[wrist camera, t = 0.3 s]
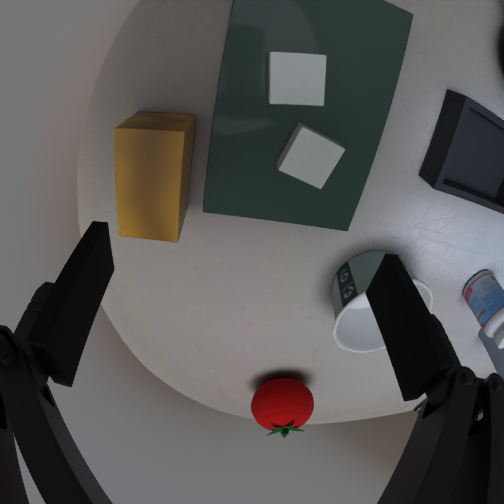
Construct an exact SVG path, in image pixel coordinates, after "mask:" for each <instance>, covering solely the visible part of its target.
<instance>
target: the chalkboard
mask: <svg viewBox="0 0 504 504" xmlns="http://www.w3.org/2000/svg"><path fill="white" fill-rule="evenodd" d="M412 18H413V14H411V13H409V12H407V11H405V10H403V9H401V8H399V7H397V6H395V5H392V4H390V3H388V2H386V1H383V0H234V2H233V7H232V12H231V17H230V22H229V27H228V33H227V38H226V44H225V49H224V55H223V61H222V67H221V73H220V79H219V85H218V92H217V98H216V105H215V112H214V119H213V126H212V134H211V141H210V149H209V157H208V166H207V174H206V183H205V192H204V202H203V212H207V213H216V214H225V215H233V216H241V217H249V218H257V219H265V220H272V221H280V222H287V223H294V224H301V225H309V226H316V227H322V228H329V229H336V230H342V231H348V228H349V226H350V223H351V221H352V218H353V215H354V213H355V210H356V208H357V205H358V202H359V200H360V197H361V194H362V191H363V189H364V186H365V183H366V180H367V177H368V175H369V172H370V169H371V166H372V163H373V160H374V157H375V154H376V151H377V148H378V145H379V142H380V139H381V136H382V133H383V129H384V126H385V123H386V120H387V116H388V113H389V110H390V106H391V103H392V99H393V96H394V92H395V89H396V85H397V81H398V77H399V74H400V70H401V66H402V62H403V58H404V54H405V50H406V45H407V41H408V36H409V32H410V27H411V23H412ZM268 52H292V53H306V54H318V55H326V75H325V93H324V106H313V105H293V104H270V103H269V102H268ZM298 122H300V123H302V124H304V125H306V126H308V127H310V128H312V129H314V130H316V131H318V132H320V133H321V134H323V135H325V136H327V137H329V138H331V139H333V140H335V141H336V142H338V143H340V144H341V145H342V146H343V147H344V148H345V151H344V153H343V154H342V156H341V158H340V159H339V161H338V162H337V164H336V166H335V167H334V169H333V171H332V172H331V174H330V175H329V177H328V179H327V180H326V182H325V184H324V185H323V187H322V188H321V189H319V188H317V187H315V186H313V185H311V184H309V183H306V182H304V181H302V180H300V179H298V178H295V177H293V176H291V175H289V174H286V173H284V172H282V171H279V170H278V167H277V161H278V159H279V157H280V155H281V153H282V152H283V150H284V148H285V146H286V144H287V142H288V140H289V139H290V137H291V135H292V133H293V131H294V129H295V128H296V126H297V124H298Z"/></svg>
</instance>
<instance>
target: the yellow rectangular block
mask: <svg viewBox="0 0 504 504" xmlns="http://www.w3.org/2000/svg"><path fill="white" fill-rule="evenodd" d="M195 121H196V115H189V114H176V113H160V112H137V113H136V114H134V115H133V116H131V117H130V118H129V119H127V120H126V121H124V122H123V123H121V124H120V125H119V126H117V127H116V128H115V177H116V197H117V212H118V224H119V235H120V236H125V237H134V238H143V239H152V240H161V241H170V242H178V241H179V237H180V233H181V230H182V226H183V222H184V219H185V215H186V212H187V208H188V194H189V181H190V170H191V159H192V149H193V139H194V130H195Z"/></svg>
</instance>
